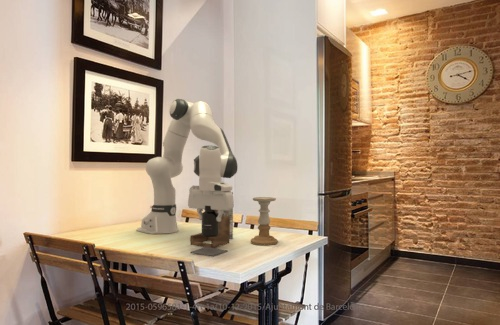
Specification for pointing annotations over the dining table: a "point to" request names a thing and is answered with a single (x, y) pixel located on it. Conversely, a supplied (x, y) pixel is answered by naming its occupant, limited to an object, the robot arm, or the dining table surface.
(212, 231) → the supplement bottle
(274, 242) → the candle holder
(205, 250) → the slate mat
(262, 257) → the dining table surface
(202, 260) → the dining table surface
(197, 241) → the walnut cubby
